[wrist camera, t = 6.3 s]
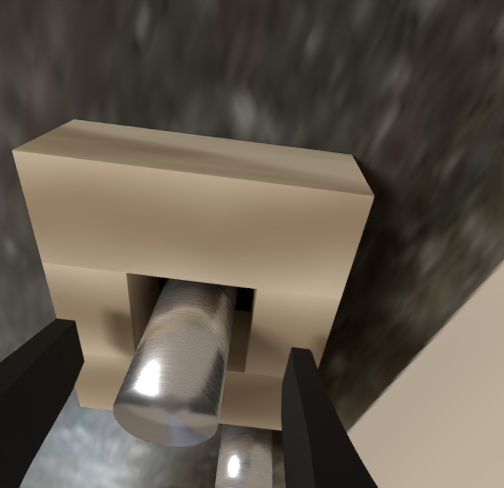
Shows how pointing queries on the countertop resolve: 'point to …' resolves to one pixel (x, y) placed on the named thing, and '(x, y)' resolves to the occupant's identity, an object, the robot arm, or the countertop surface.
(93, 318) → the birch board
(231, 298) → the long steel pin
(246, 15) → the countertop surface
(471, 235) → the countertop surface
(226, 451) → the short steel pin
